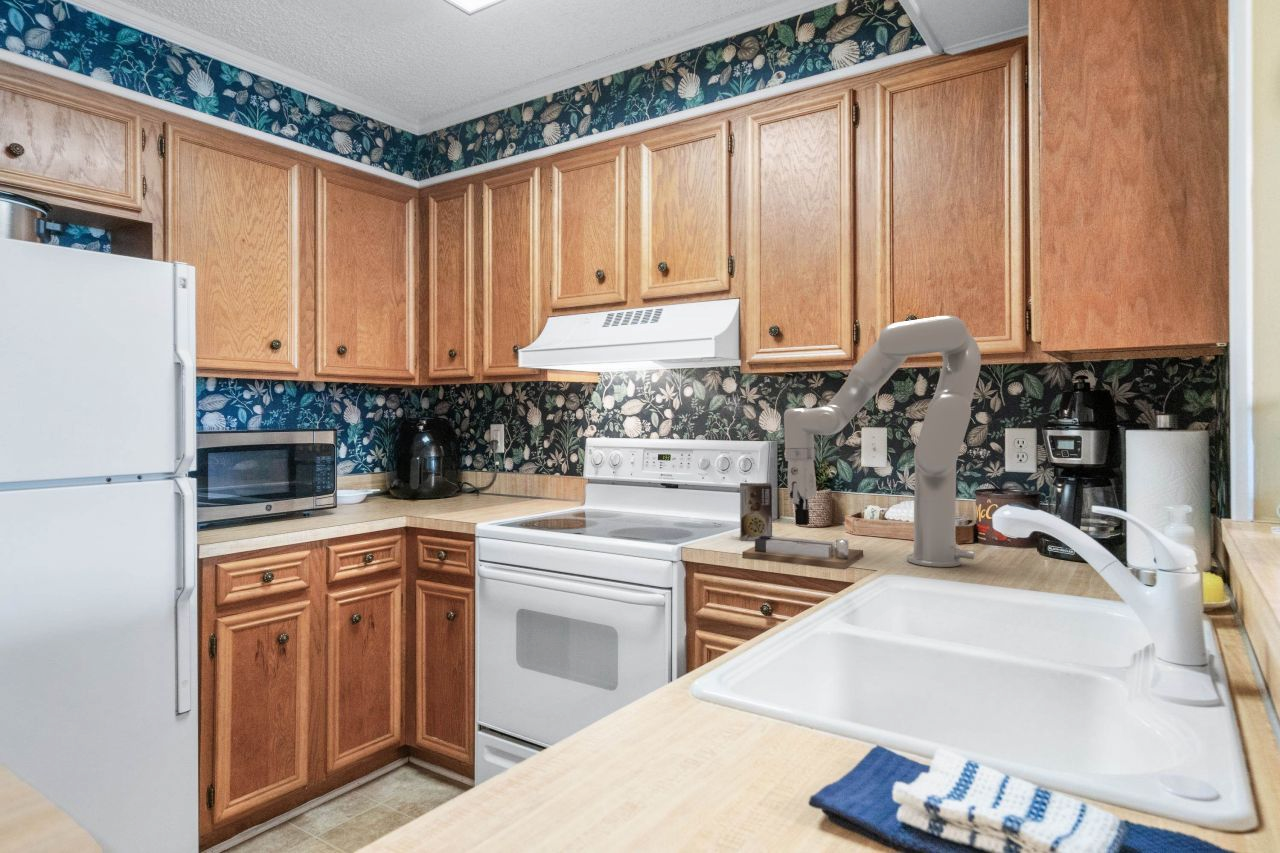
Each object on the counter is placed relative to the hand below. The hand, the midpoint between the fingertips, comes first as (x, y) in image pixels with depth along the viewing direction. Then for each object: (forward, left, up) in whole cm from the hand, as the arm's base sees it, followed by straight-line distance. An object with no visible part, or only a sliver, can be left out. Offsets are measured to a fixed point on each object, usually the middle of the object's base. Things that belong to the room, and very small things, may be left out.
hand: (802, 524), depth 197 cm
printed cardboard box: (+18, -13, -8) cm, 23 cm away
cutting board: (-2, +5, -8) cm, 9 cm away
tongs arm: (-1, +8, -6) cm, 10 cm away
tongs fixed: (-3, +10, -6) cm, 12 cm away
